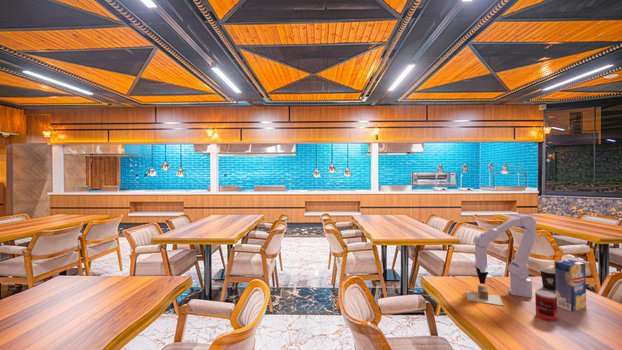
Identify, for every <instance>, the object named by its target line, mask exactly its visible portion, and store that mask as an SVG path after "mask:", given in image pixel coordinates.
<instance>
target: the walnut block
mask: <svg viewBox="0 0 622 350" xmlns="http://www.w3.org/2000/svg"><path fill="white" fill-rule="evenodd" d="M477 293H478V294H479V299H486V300H488V294H489V291H488V288H487V286H486V285H482V284H480V285H479V284H478V285H477Z"/></svg>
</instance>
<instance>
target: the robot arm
mask: <svg viewBox="0 0 622 350" xmlns="http://www.w3.org/2000/svg"><path fill="white" fill-rule="evenodd" d="M536 223H537V221H536V219H534V217H533V216H531V215H526V214H522V213H516V214H515V215H512V216H510V217H509V218H508V219H507V220H506V221H504V222H503V223H501V224H500V225H498V226H497V227H496V228H494V227H493V228H492V227H491V228H487V230H486V231H485V232H483V233H482V232H481V233H480V234H479V235H476V236H474V238H473V240H472V242H473V244H474V248H475V249H474V254H475V255H474V256H475V257H474V258H475V261H474V262H475V263H473V264H472V266H473V267H475V270H476V271H475V272H476V274H477V277H478V281H479V283H480V285H485V284H486V279H487V276H488V275H489V271H486V270H487V268H488V249H487V247H489V244H490V243H491V242H493V241H495V240H496V239H498V238H500V236H501V234H502V233H504V232H506V231H508V230H510V229H511V228H513V227H516V228H517V227H520V229H521V230H522V231H523V234H522V238H521V240H520V244H519V245H518V249H517V252H516V255H515V258H513V259H512V260H511V262H510V263H509V265H508V266H507V271H508V272H509V274H510V276H509V278H510V279H509V280H510V281H509V283H510V284H509V285H510V286H509V287H510V288H508V291H509V293H510V295H512V296H517V297H525V298H530V299H531V298H533V283H532V279H531V278H529V276H530V273H529V270H530V266H529V264H528V261H529V258H530V255H531V252H532V249H533V247H534V243H535V239H536V237H537V234H538V231H537V225H536Z"/></svg>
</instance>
